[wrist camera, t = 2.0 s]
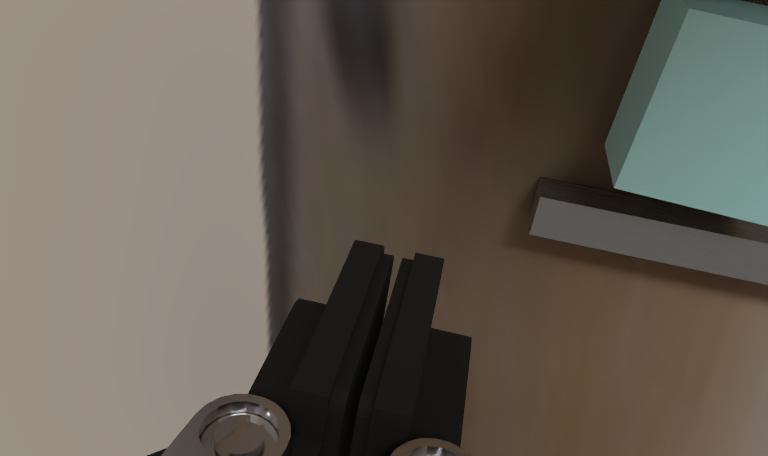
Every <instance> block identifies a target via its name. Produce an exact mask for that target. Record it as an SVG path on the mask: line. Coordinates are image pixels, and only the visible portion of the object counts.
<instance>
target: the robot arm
mask: <svg viewBox="0 0 768 456" xmlns="http://www.w3.org/2000/svg"><path fill="white" fill-rule="evenodd" d="M393 260H394V256H392V255H387V254H384V246H382V245H378V244H373V243H368V242H364V241H359V240H355V242H354V243H353V246H352V248H351V250H350V252H349V255H348V257H347V259H346V261H345V264H344V266H343V268H342V271H341V273H340V275H339V277H338V280H337V282H336V284H335V286H334V289H333V291H332V293H331V295H330V298H329V300H328V302H327V304H322V303H317V302H313V301H308V300H304V299H298V300H297V301H296V302H295V304H294V306H293V308H292V309H291V311H290V313H289V315H288V317H287V319H286V321H285V323H284V325H283V327H282V329H281V331H280V333H279V335H278V337H277V339H276V341H275V342H274V344H273V346H272V348H271V350H270V352H269V354H268V356H267V358H266V360H265V362H264V364H263V366H262V368H261V370H260V372H259V373H258V376H257V377H256V379H255V381H254V383H253V385H252V387H251V389H250V391H249V393H248V394H233V395H229V396H224V397H220V398H218V399H216V400H214V401H212V402H210V403H208V404H206V405H205V406H204V407H203V408H202V409H201V410H199V411H198V412H197V413H196V414H195V415H194V417H193V418H192V419H191V420H190V421H189V423H188V424H187V425H186V426H185V427H184V429H183V430H182V431H181V432H180V433H179V435H178V436H177V437H176V438H175V439H174V441H173V442H172V443H171V444H170V445H169V447H168V448H166V449H163V450H161V451H158V452H155V453H153V454H150V455H147V456H471V455H470V454H468V453H467V452H466V451H465V450H464V449H462V448H460V444H461V434H462V425H463V416H464V407H465V397H466V388H467V379H468V370H469V360H470V351H471V340H472V339H471V337H468V336H464V335H459V334H455V333H451V332H446V331H442V330H437V329H433V328H431V324H432V319H433V314H434V309H435V304H436V299H437V294H438V289H439V284H440V279H441V274H442V269H443V263H444V259H443V258H438V257H434V256H429V255H424V254H420V253H415V257H414V260H411V259H406V258H403V259H402V262H401V265H400V268H399V271H398V275H397V278H396V281H395V285H394V288H393V291H392V295H391V298H390V301H389V304H388V308H387V311H386V314H385V318H384V313H385V307H386V302H387V296H388V290H389V284H390V278H391V272H392V266H393ZM383 319H384V321H383Z"/></svg>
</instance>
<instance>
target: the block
mask: <svg viewBox="0 0 768 456" xmlns="http://www.w3.org/2000/svg"><path fill="white" fill-rule="evenodd" d="M604 145H605V149H606V154H607V159H608V163H609V168H610V173H611V177H612V182H613V187H614V188H615V189H619V190H623V191H627V192H631V193H635V194H640V195H644V196H648V197H652V198H656V199H660V200H664V201H668V202H672V203H676V204H680V205H684V206H688V207H692V208H696V209H700V210H704V211H708V212H712V213H716V214H720V215H724V216H728V217H732V218H736V219H740V220H744V221H748V222H752V223H756V224H760V225H764V226H768V6H766V5H762V4H757V3H753V2H748V1H744V0H661V2H660V5H659V7H658V10H657V12H656V15H655V17H654V20H653V22H652V25H651V27H650V30H649V32H648V35H647V38H646V40H645V43H644V45H643V48H642V50H641V53H640V55H639V58H638V60H637V63H636V65H635V68H634V70H633V73H632V76H631V78H630V81H629V83H628V86H627V88H626V91H625V93H624V96H623V98H622V101H621V103H620V106H619V108H618V111H617V113H616V116H615V119H614V121H613V124H612V126H611V129H610V131H609V134H608V136H607V139H606V141H605V144H604Z"/></svg>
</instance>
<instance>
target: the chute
mask: <svg viewBox="0 0 768 456" xmlns="http://www.w3.org/2000/svg"><path fill="white" fill-rule="evenodd" d="M529 235H534V236H539V237H543V238H548V239H553V240H558V241H562V242H567V243H572V244H576V245H581V246H586V247H591V248H595V249H600V250H605V251H609V252H614V253H619V254H624V255H628V256H633V257H638V258H642V259H647V260H652V261H657V262H661V263H666V264H671V265H676V266H680V267H685V268H690V269H694V270H699V271H704V272H709V273H713V274H718V275H723V276H727V277H732V278H737V279H742V280H746V281H751V282H756V283H760V284H765V285H768V226H764V225H760V224H756V223H752V222H748V221H744V220H740V219H736V218H732V217H728V216H724V215H720V214H716V213H712V212H708V211H704V210H700V209H696V208H691V207H686V206H682V205H677V204H672V203H667V202H662V201H657V200H652V199H647V198H642V197H637V196H632V195H627V194H622V193H617V192H612V191H607V190H603V189H598V188H593V187H588V186H583V185H578V184H573V183H568V182H563V181H558V180H553V179H548V178H543V177H540V179H539V183H538V186H537V190H536V193H535V197H534V200H533V204H532V207H531V211H530V228H529Z"/></svg>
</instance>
